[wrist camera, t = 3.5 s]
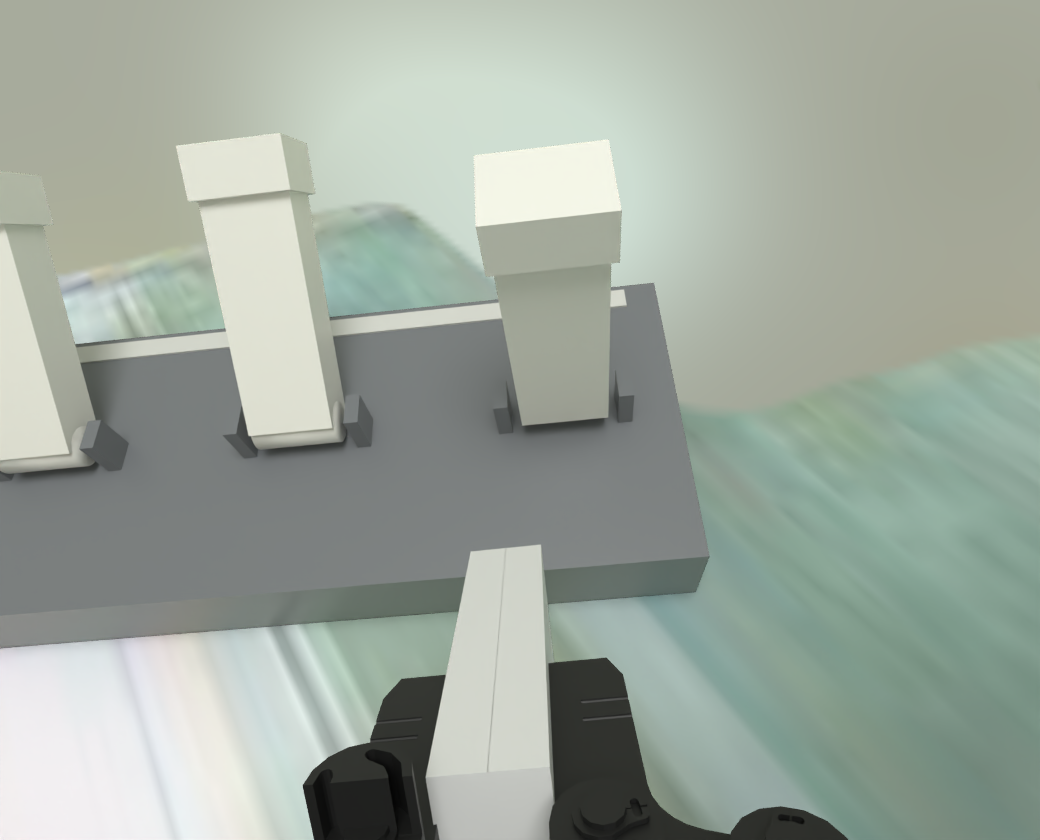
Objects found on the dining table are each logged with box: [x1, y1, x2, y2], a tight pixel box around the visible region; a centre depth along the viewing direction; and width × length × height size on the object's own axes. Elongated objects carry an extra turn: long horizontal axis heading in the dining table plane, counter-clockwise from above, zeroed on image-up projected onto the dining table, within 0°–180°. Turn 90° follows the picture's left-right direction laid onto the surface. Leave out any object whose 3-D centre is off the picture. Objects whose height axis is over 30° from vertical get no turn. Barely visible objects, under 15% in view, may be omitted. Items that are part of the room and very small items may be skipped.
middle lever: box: [176, 133, 346, 450], centre depth 29 cm, size 3×4×12 cm
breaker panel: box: [0, 283, 709, 648], centre depth 32 cm, size 14×33×7 cm, turn 93°
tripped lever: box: [474, 140, 622, 426], centre depth 25 cm, size 3×4×12 cm
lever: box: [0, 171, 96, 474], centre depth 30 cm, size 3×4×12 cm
